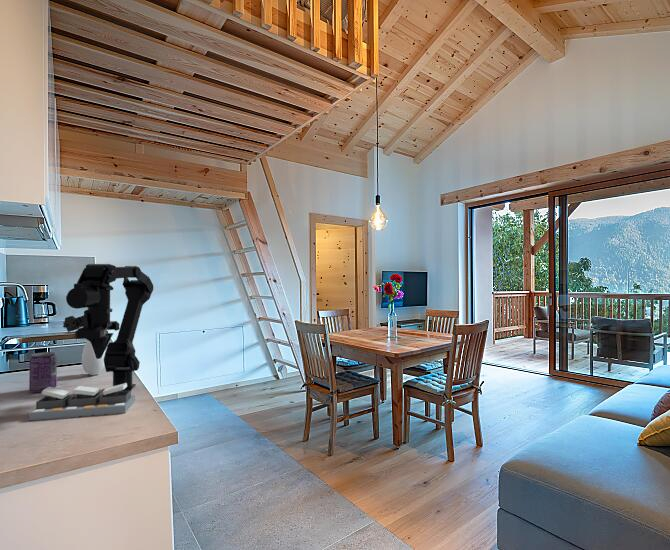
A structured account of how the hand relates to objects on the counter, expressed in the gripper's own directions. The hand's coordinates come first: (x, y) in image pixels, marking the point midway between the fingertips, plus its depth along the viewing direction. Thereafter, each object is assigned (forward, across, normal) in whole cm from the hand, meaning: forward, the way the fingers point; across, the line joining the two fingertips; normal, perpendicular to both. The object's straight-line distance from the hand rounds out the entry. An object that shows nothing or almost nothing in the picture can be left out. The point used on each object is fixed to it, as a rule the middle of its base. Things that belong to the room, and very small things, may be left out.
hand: (98, 358), depth 113 cm
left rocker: (+8, +7, -8) cm, 14 cm away
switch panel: (+13, +7, -1) cm, 15 cm away
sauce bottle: (+13, -36, -13) cm, 40 cm away
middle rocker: (+8, +7, -1) cm, 11 cm away
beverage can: (+13, -18, -22) cm, 31 cm away
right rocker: (+8, +7, +6) cm, 12 cm away
